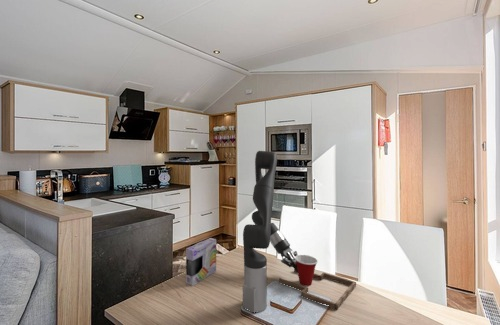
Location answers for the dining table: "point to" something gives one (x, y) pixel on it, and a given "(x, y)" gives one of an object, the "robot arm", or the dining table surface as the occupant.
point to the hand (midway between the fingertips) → (300, 272)
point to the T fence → (318, 299)
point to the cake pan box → (200, 261)
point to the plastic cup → (305, 268)
